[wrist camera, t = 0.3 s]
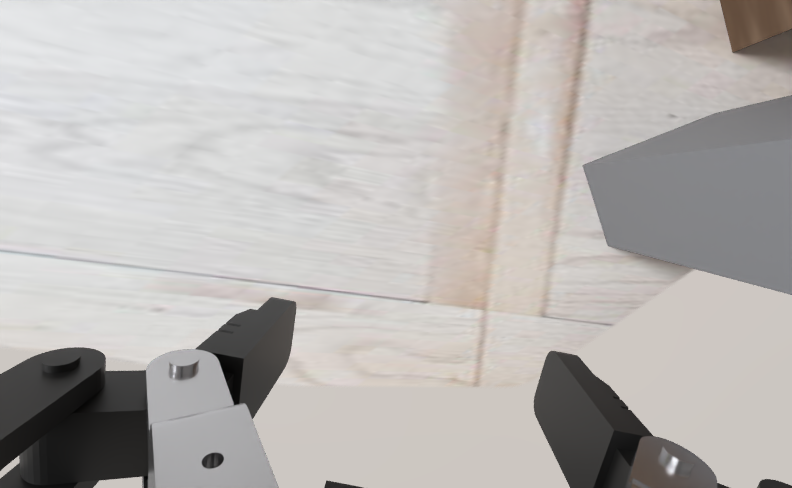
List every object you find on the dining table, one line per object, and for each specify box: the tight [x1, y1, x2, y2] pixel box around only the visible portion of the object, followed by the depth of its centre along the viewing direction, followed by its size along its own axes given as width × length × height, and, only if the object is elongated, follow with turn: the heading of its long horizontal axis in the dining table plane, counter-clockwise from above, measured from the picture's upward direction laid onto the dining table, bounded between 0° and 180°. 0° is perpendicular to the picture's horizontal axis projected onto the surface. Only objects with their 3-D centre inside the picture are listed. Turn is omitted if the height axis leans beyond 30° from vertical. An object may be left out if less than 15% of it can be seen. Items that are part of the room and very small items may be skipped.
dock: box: [583, 95, 792, 295], centre depth 27 cm, size 14×9×23 cm, turn 111°
